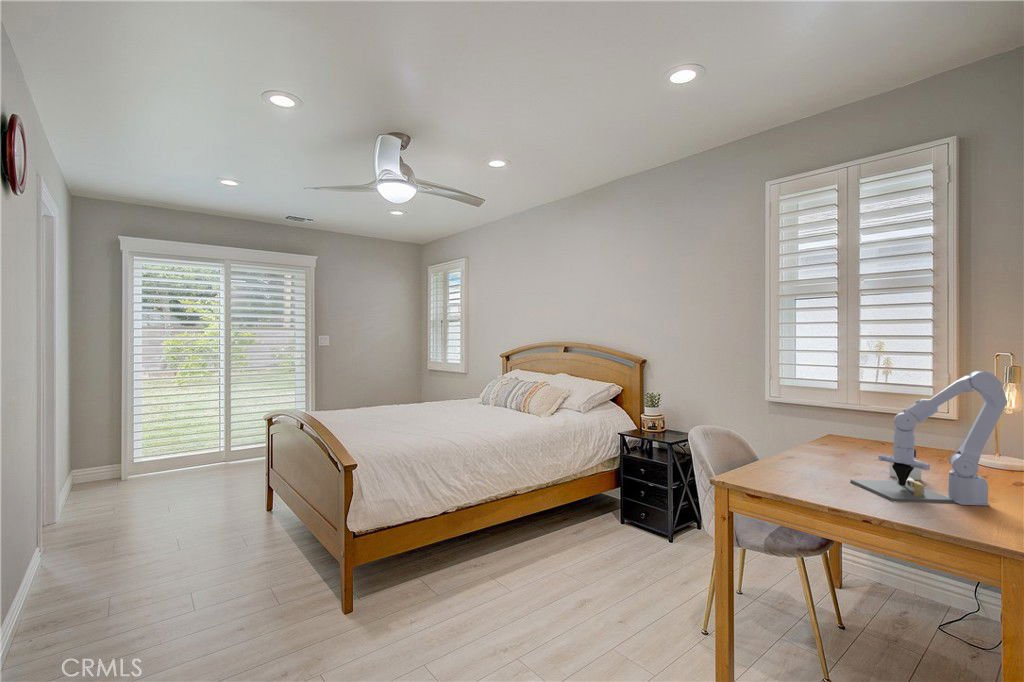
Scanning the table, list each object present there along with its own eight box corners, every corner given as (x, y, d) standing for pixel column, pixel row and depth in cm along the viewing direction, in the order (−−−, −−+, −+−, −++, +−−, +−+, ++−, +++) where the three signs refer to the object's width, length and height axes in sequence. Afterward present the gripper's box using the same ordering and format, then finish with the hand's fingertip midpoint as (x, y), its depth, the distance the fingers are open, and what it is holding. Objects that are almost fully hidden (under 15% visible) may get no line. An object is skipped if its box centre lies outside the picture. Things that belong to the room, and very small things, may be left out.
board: (904, 483, 182) (904, 471, 182) (954, 502, 161) (954, 488, 161) (850, 482, 182) (850, 470, 182) (892, 501, 161) (893, 487, 161)
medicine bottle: (901, 474, 194) (902, 444, 193) (921, 479, 187) (922, 448, 187) (889, 476, 191) (889, 445, 191) (908, 481, 184) (909, 450, 184)
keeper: (906, 491, 169) (907, 479, 169) (918, 492, 168) (918, 480, 168) (912, 496, 164) (912, 483, 163) (924, 497, 162) (924, 485, 162)
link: (895, 480, 181) (895, 474, 181) (908, 481, 179) (908, 475, 179) (911, 493, 166) (911, 486, 166) (926, 494, 165) (926, 487, 164)
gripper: (874, 443, 176) (873, 481, 176) (923, 452, 163) (922, 493, 163) (884, 442, 179) (883, 478, 179) (933, 450, 166) (931, 490, 167)
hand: (902, 485), depth 172 cm, fingers closed
